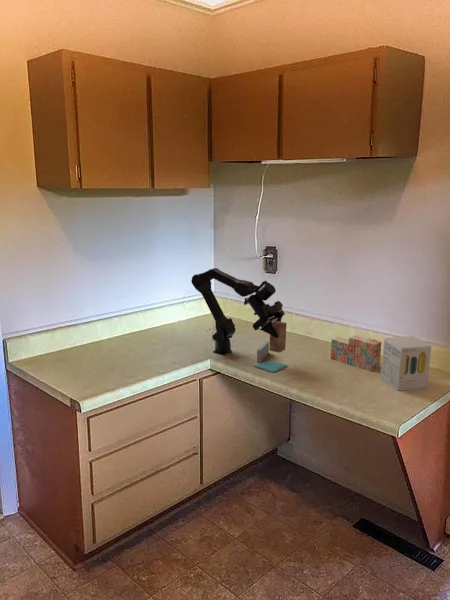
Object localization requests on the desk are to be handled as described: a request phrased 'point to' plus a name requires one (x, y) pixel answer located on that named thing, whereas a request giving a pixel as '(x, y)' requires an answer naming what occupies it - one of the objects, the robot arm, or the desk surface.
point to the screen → (262, 351)
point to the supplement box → (405, 363)
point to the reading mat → (271, 366)
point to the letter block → (279, 342)
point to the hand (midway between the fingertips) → (280, 336)
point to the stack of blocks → (357, 352)
